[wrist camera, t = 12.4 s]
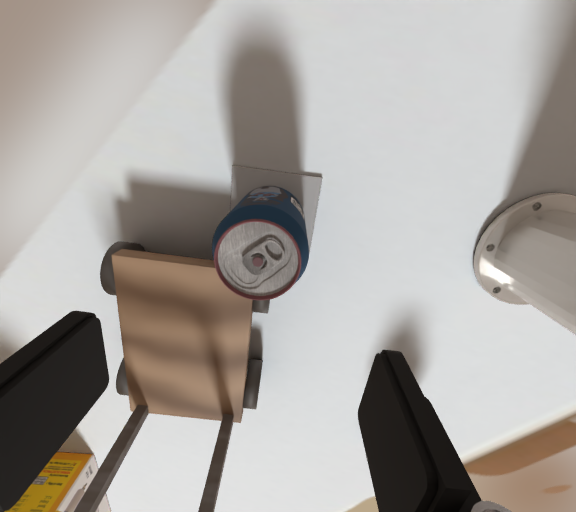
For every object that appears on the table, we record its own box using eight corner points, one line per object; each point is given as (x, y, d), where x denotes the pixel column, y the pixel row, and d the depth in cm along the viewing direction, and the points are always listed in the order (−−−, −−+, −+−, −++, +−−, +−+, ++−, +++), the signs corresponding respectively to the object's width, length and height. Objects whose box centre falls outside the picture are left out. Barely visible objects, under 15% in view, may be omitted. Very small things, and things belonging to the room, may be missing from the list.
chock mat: (321, 177, 28) (322, 177, 27) (308, 258, 31) (308, 260, 31) (233, 165, 27) (232, 165, 27) (228, 248, 31) (228, 249, 30)
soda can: (264, 259, 31) (248, 324, 20) (225, 209, 29) (181, 250, 18) (316, 225, 29) (331, 275, 18) (278, 169, 27) (268, 187, 16)
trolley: (130, 232, 30) (-151, 384, 11) (275, 251, 31) (247, 427, 12) (142, 370, 38) (-12, 602, 19) (259, 383, 38) (226, 622, 19)
